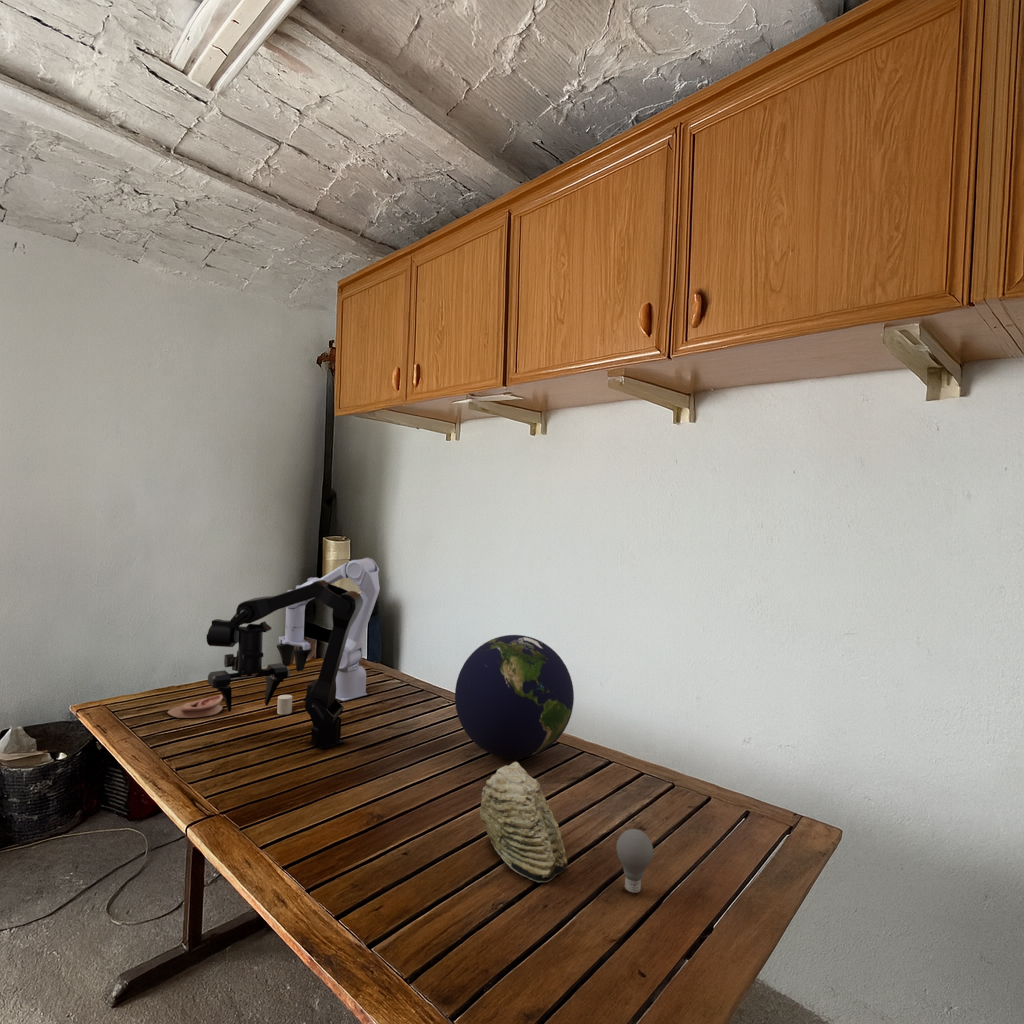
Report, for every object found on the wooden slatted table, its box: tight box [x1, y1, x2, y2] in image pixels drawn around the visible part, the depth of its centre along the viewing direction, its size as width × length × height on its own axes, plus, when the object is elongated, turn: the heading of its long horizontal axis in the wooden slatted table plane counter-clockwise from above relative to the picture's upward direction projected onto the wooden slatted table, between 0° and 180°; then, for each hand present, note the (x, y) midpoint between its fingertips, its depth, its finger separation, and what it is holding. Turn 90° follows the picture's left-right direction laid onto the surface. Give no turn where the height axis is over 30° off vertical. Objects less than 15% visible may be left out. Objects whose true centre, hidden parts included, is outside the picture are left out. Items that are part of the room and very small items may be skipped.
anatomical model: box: [167, 694, 224, 719], centre depth 180 cm, size 13×4×12 cm
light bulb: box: [615, 828, 654, 894], centre depth 106 cm, size 6×6×10 cm
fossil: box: [479, 761, 569, 883], centre depth 114 cm, size 9×18×15 cm, turn 46°
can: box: [276, 694, 293, 716], centre depth 184 cm, size 4×4×5 cm
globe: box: [454, 634, 575, 760], centre depth 160 cm, size 30×30×30 cm
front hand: (248, 708), depth 163 cm, fingers open, 9 cm apart
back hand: (293, 668), depth 205 cm, fingers open, 7 cm apart
